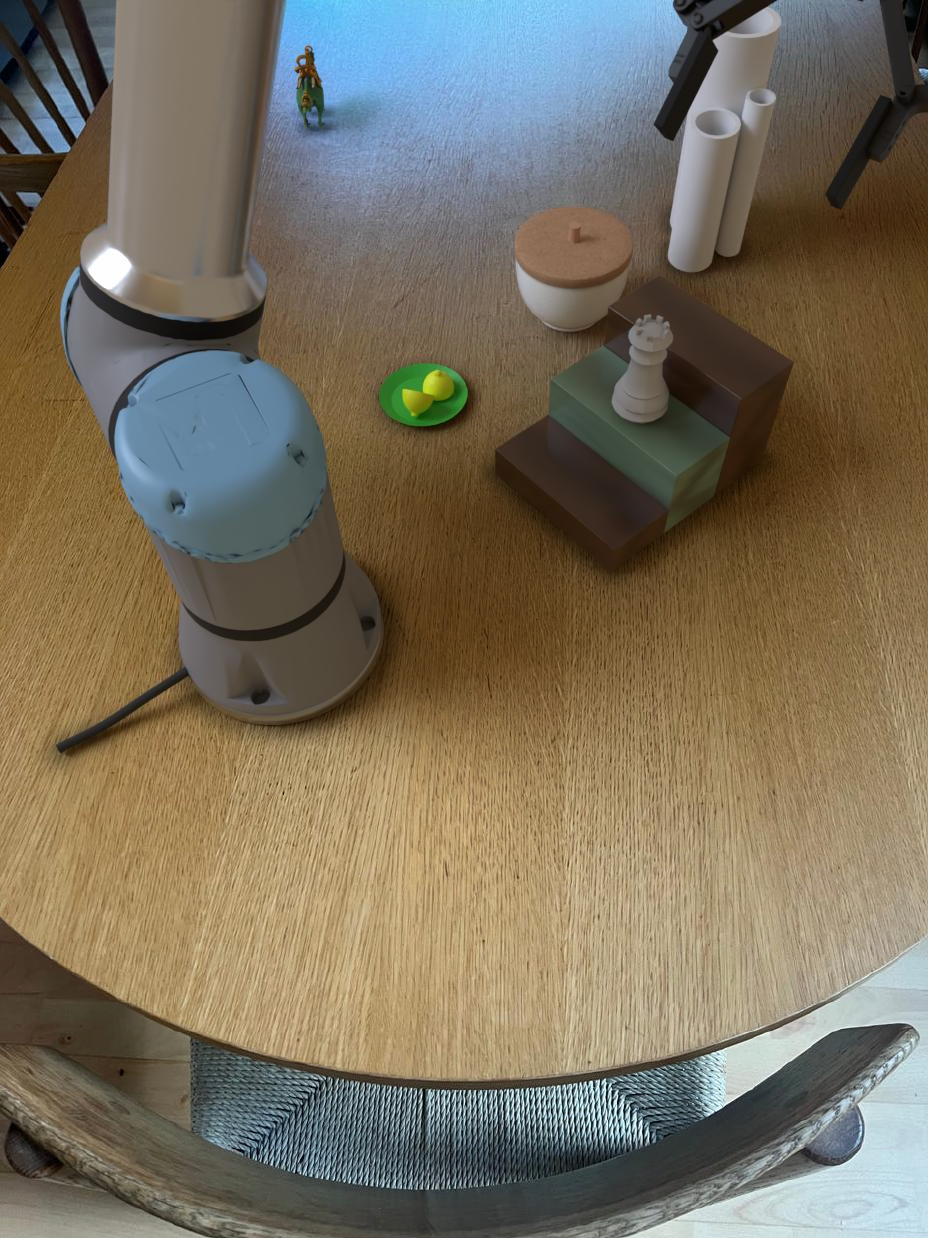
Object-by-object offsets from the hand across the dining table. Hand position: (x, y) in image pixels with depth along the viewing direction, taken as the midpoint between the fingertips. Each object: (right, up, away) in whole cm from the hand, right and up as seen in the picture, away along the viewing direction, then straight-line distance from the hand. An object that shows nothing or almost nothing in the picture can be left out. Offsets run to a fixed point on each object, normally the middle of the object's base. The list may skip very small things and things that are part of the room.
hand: (744, 166), depth 69 cm
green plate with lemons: (-23, -12, +20) cm, 33 cm away
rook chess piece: (-6, -15, +9) cm, 18 cm away
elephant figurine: (-37, +28, +45) cm, 65 cm away
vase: (+5, +7, +32) cm, 33 cm away
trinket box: (-9, -2, +26) cm, 28 cm away
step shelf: (-6, -19, +15) cm, 25 cm away
